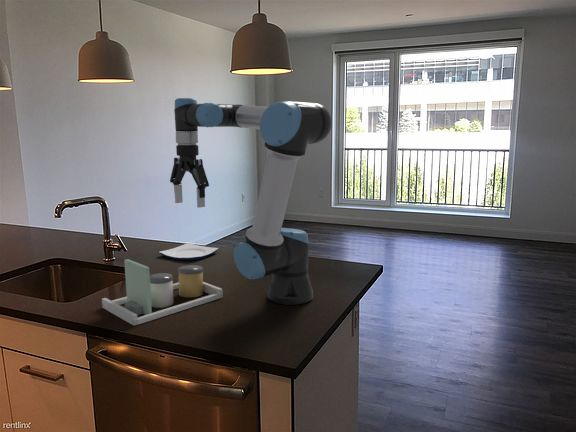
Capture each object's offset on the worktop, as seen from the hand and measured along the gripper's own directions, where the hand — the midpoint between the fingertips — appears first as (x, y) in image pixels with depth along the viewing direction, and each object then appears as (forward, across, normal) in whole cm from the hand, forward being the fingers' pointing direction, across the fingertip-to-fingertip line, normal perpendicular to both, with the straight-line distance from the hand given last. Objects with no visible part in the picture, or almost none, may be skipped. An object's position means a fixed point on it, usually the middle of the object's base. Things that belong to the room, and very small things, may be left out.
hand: (189, 205), depth 170 cm
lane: (+29, -10, +18) cm, 35 cm away
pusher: (+29, -10, +28) cm, 41 cm away
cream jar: (+29, -10, +19) cm, 36 cm away
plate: (+29, +33, -21) cm, 49 cm away
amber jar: (+28, -10, +8) cm, 31 cm away
